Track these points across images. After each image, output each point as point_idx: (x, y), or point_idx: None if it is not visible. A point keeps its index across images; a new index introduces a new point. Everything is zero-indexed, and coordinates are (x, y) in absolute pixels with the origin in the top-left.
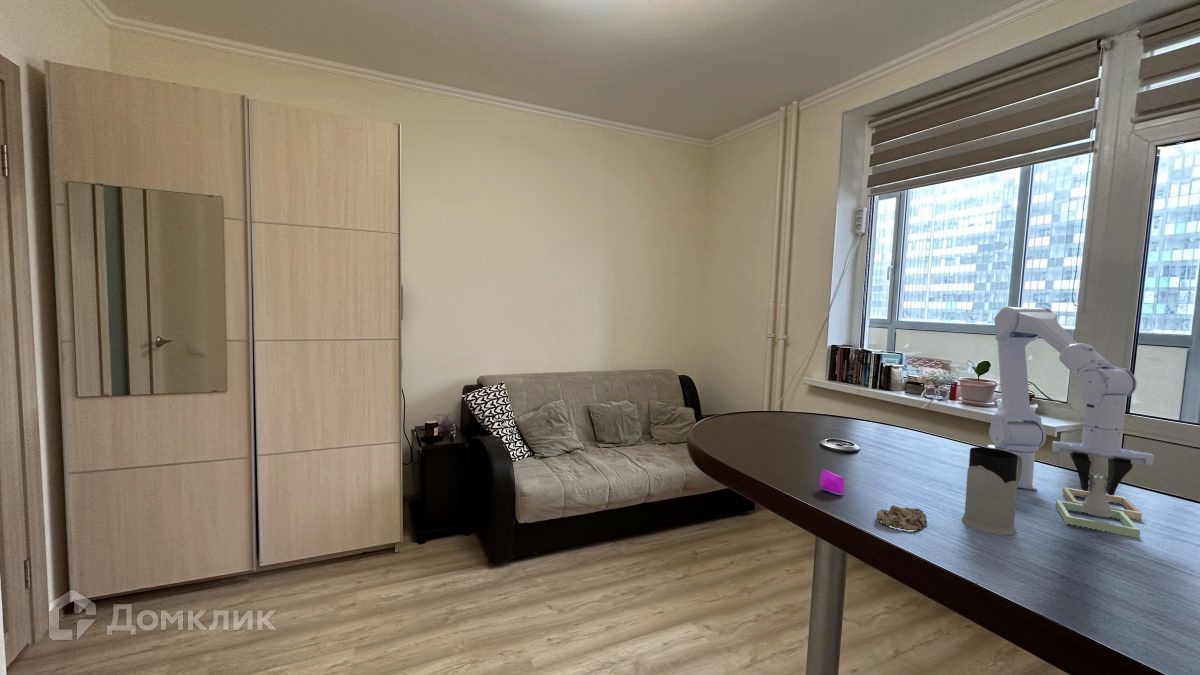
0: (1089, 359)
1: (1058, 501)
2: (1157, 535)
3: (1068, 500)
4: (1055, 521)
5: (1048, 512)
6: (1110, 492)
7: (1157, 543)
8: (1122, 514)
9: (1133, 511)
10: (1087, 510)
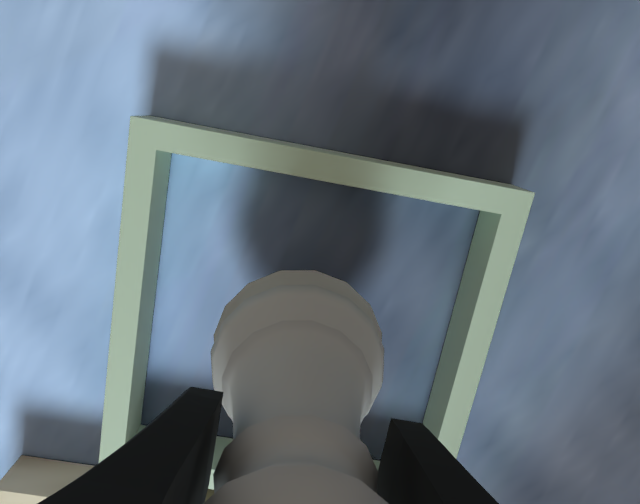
0: None
1: None
2: (19, 229)
3: None
4: (556, 211)
5: (517, 369)
6: (212, 398)
7: (73, 65)
8: (122, 412)
9: (31, 500)
10: (368, 314)
